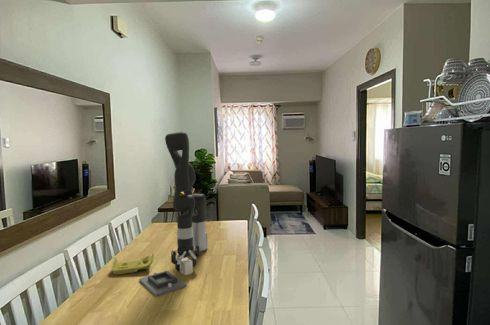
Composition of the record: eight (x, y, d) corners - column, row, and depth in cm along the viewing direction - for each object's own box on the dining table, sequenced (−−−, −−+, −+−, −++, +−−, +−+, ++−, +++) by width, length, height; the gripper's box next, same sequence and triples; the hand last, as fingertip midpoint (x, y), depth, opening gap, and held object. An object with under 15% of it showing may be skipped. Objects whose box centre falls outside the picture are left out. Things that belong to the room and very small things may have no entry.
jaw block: (186, 269, 150) (186, 257, 150) (192, 272, 146) (192, 260, 145) (179, 271, 148) (179, 259, 148) (185, 275, 143) (185, 263, 143)
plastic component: (110, 271, 144) (115, 255, 152) (114, 281, 148) (118, 265, 156) (152, 265, 146) (155, 250, 155) (155, 275, 150) (157, 260, 158)
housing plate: (167, 272, 147) (167, 266, 147) (186, 286, 132) (186, 279, 132) (139, 280, 138) (139, 275, 138) (155, 296, 123) (155, 289, 123)
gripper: (194, 231, 153) (195, 262, 154) (167, 237, 144) (169, 270, 145) (201, 234, 147) (202, 267, 148) (175, 241, 138) (176, 275, 139)
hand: (186, 268), depth 147 cm, fingers open, 8 cm apart
